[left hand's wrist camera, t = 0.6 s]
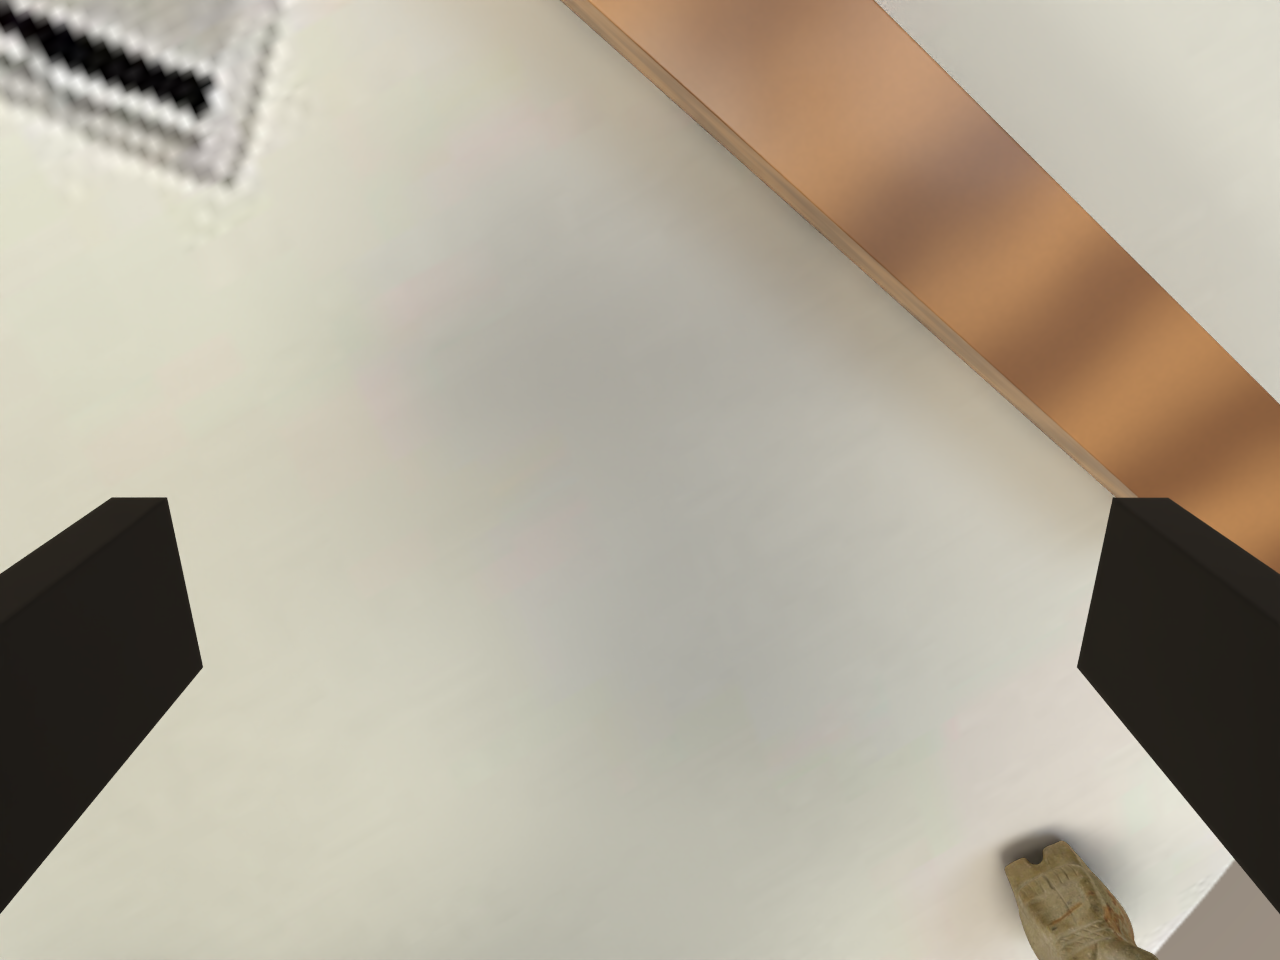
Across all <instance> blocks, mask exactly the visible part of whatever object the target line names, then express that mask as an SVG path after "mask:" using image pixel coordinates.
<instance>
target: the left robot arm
mask: <svg viewBox="0 0 1280 960" xmlns="http://www.w3.org/2000/svg"><path fill="white" fill-rule="evenodd" d="M202 668H203V665H202V660H201V656H200V651H199V646H198V641H197V637H196V632H195V627H194V623H193V618H192V613H191V608H190V604H189V599H188V594H187V590H186V585H185V580H184V575H183V571H182V566H181V561H180V556H179V552H178V547H177V542H176V538H175V533H174V528H173V523H172V519H171V514H170V509H169V505H168V500H167V498H110V499H109V500H108V501H106V502H105V503H103V504H102V505H100V506H99V507H97V508H96V509H94V510H93V511H91V512H90V513H89V514H87V515H86V516H84V517H83V518H81V519H80V520H78V521H77V522H75V523H74V524H73V525H71V526H70V527H68V528H67V529H65V530H64V531H62V532H61V533H59V534H58V535H56V536H55V537H54V538H52V539H51V540H49V541H48V542H46V543H45V544H43V545H42V546H40V547H39V548H37V549H36V550H35V551H33V552H32V553H30V554H29V555H27V556H26V557H24V558H23V559H21V560H20V561H19V562H17V563H16V564H14V565H13V566H11V567H10V568H8V569H7V570H5V571H4V572H2V573H1V574H0V913H1V912H2V911H3V910H4V909H5V907H6V906H7V905H8V904H9V903H10V901H11V900H12V899H13V898H14V896H15V895H16V894H17V893H18V892H19V890H20V889H21V888H22V887H23V886H24V884H25V883H26V882H27V881H28V879H29V878H30V877H31V876H32V875H33V873H34V872H35V871H36V870H37V868H38V867H39V866H40V865H41V864H42V862H43V861H44V860H45V859H46V858H47V856H48V855H49V854H50V853H51V851H52V850H53V849H54V848H55V847H56V845H57V844H58V843H59V842H60V841H61V839H62V838H63V837H64V836H65V834H66V833H67V832H68V831H69V830H70V828H71V827H72V826H73V825H74V823H75V822H76V821H77V820H78V819H79V817H80V816H81V815H82V814H83V813H84V811H85V810H86V809H87V808H88V806H89V805H90V804H91V803H92V802H93V800H94V799H95V798H96V797H97V796H98V794H99V793H100V792H101V791H102V789H103V788H104V787H105V786H106V785H107V783H108V782H109V781H110V780H111V778H112V777H113V776H114V775H115V774H116V772H117V771H118V770H119V769H120V768H121V766H122V765H123V764H124V763H125V761H126V760H127V759H128V758H129V757H130V755H131V754H132V753H133V752H134V750H135V749H136V748H137V747H138V746H139V744H140V743H141V742H142V741H143V740H144V738H145V737H146V736H147V735H148V733H149V732H150V731H151V730H152V729H153V727H154V726H155V725H156V724H157V723H158V721H159V720H160V719H161V718H162V716H163V715H164V714H165V713H166V712H167V710H168V709H169V708H170V707H171V705H172V704H173V703H174V702H175V701H176V699H177V698H178V697H179V696H180V695H181V693H182V692H183V691H184V690H185V688H186V687H187V686H188V685H189V684H190V682H191V681H192V680H193V679H194V678H195V676H196V675H197V674H198V673H199V671H200V670H201V669H202ZM1077 668H1078V669H1079V670H1080V671H1081V673H1082V674H1083V675H1084V676H1085V678H1086V679H1087V680H1088V681H1089V682H1090V684H1091V685H1092V686H1093V687H1094V688H1095V690H1096V691H1097V692H1098V693H1099V695H1100V696H1101V697H1102V698H1103V699H1104V701H1105V702H1106V703H1107V704H1108V705H1109V707H1110V708H1111V709H1112V710H1113V712H1114V713H1115V714H1116V715H1117V716H1118V718H1119V719H1120V720H1121V721H1122V723H1123V724H1124V725H1125V726H1126V727H1127V729H1128V730H1129V731H1130V732H1131V733H1132V735H1133V736H1134V737H1135V738H1136V740H1137V741H1138V742H1139V743H1140V744H1141V746H1142V747H1143V748H1144V749H1145V750H1146V752H1147V753H1148V754H1149V755H1150V757H1151V758H1152V759H1153V760H1154V761H1155V763H1156V764H1157V765H1158V766H1159V768H1160V769H1161V770H1162V771H1163V772H1164V774H1165V775H1166V776H1167V777H1168V778H1169V780H1170V781H1171V782H1172V783H1173V785H1174V786H1175V787H1176V788H1177V789H1178V791H1179V792H1180V793H1181V794H1182V796H1183V797H1184V798H1185V799H1186V800H1187V802H1188V803H1189V804H1190V805H1191V806H1192V808H1193V809H1194V810H1195V811H1196V813H1197V814H1198V815H1199V816H1200V817H1201V819H1202V820H1203V821H1204V822H1205V823H1206V825H1207V826H1208V827H1209V828H1210V830H1211V831H1212V832H1213V833H1214V834H1215V836H1216V837H1217V838H1218V839H1219V841H1220V842H1221V843H1222V844H1223V845H1224V847H1225V848H1226V849H1227V850H1228V851H1229V853H1230V854H1231V855H1232V856H1233V858H1234V859H1235V860H1236V861H1237V862H1238V864H1239V865H1240V866H1241V867H1242V868H1243V870H1244V871H1245V872H1246V873H1247V875H1248V876H1249V877H1250V878H1251V879H1252V881H1253V882H1254V883H1255V884H1256V886H1257V887H1258V888H1259V889H1260V890H1261V891H1262V893H1263V894H1264V895H1265V896H1266V898H1267V899H1268V900H1269V901H1270V903H1271V904H1272V905H1273V906H1274V907H1275V909H1276V910H1277V911H1278V912H1279V914H1280V574H1279V573H1278V572H1276V571H1275V570H1273V569H1272V568H1270V567H1269V566H1267V565H1266V564H1264V563H1263V562H1261V561H1260V560H1259V559H1257V558H1256V557H1254V556H1253V555H1251V554H1250V553H1248V552H1247V551H1245V550H1244V549H1243V548H1241V547H1240V546H1238V545H1237V544H1235V543H1234V542H1232V541H1231V540H1229V539H1228V538H1226V537H1225V536H1224V535H1222V534H1221V533H1219V532H1218V531H1216V530H1215V529H1213V528H1212V527H1210V526H1209V525H1207V524H1206V523H1205V522H1203V521H1202V520H1200V519H1199V518H1197V517H1196V516H1194V515H1193V514H1191V513H1190V512H1189V511H1187V510H1186V509H1184V508H1183V507H1181V506H1180V505H1178V504H1177V503H1175V502H1174V501H1172V500H1171V499H1170V498H1113V500H1112V505H1111V509H1110V514H1109V519H1108V523H1107V528H1106V533H1105V538H1104V542H1103V547H1102V552H1101V556H1100V561H1099V566H1098V571H1097V575H1096V580H1095V585H1094V590H1093V594H1092V599H1091V604H1090V608H1089V613H1088V618H1087V623H1086V627H1085V632H1084V637H1083V641H1082V646H1081V651H1080V656H1079V660H1078V665H1077Z"/></svg>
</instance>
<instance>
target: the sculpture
mask: <svg viewBox="0 0 1280 960" xmlns="http://www.w3.org/2000/svg"><path fill="white" fill-rule="evenodd" d="M1042 852H1043V860H1042V862H1041V863H1039V864H1031V863H1030V862H1029V861H1028V860H1027V859H1026V858H1020V859H1018V860H1016V861H1014V862H1012V863H1010V864H1009V865H1007V866H1006V867H1005V872H1006V875H1007V877H1008V880H1009V882H1010V885H1011V887H1012V890H1013V892H1014V895H1015V898H1016V902H1017V905H1018V908H1019V914H1020V918H1021V921H1022V925H1023V928H1024V931H1025V933H1026V936H1027V938H1028V941H1029V943H1030V945H1031V947H1032V949H1033V951H1034V953H1035V954H1036V956H1037V958H1038V959H1039V960H1158V958H1157V957H1156V956H1155V955H1153V954H1152V953H1150V952H1148V951H1145V950H1143V949H1141V948H1139V947H1137V946H1136V944H1135V941H1134V933H1133V928H1132V925H1131V922H1130V920H1129V918H1128V916H1127V914H1126V912H1125V910H1124V909H1123V907H1122V906H1121V905H1120V903H1119V902H1118V901H1117V899H1116V898H1115V897H1114V896H1113V894H1112V893H1111V892H1110V891H1109V890H1108V889H1107V887H1106V886H1105V885H1104V884H1103V883H1102V882H1101V881H1100V880H1099V878H1098V877H1096V876H1095V875H1094V874H1093V873H1092V872H1091V870H1090V869H1089V868H1088V867H1087V865H1086V864H1085V863H1084V862H1083V861H1082V859H1081V858H1080V857H1079V856H1078V855H1077V854H1076V853H1075V851H1074V850H1073V849H1072V848H1071V847H1070V846H1069V845H1068V844H1067V843H1066V842H1064V841H1059V842H1057V843H1055V844H1052V845H1049V846H1047V847H1045V848H1044V849H1043V851H1042Z"/></svg>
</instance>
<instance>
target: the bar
mask: <svg viewBox="0 0 1280 960" xmlns="http://www.w3.org/2000/svg"><path fill="white" fill-rule="evenodd" d="M561 1H562V2H563V3H564V4H565V5H566V6H567V7H569V8H570V9H571V10H572V11H573V12H574V13H575V14H576V15H577V16H579V17H580V18H581V19H582V20H583V21H584V22H585V23H586V24H588V25H589V26H590V27H591V28H592V29H593V30H594V31H595V32H596V33H598V34H599V35H600V36H601V37H602V38H603V39H604V40H605V41H607V42H608V43H609V44H610V45H611V46H612V47H613V48H614V49H615V50H617V51H618V52H619V53H620V54H621V55H622V56H623V57H624V58H626V59H627V60H628V61H629V62H630V63H631V64H632V65H633V66H634V67H636V68H637V69H638V70H639V71H640V72H641V73H642V74H643V75H645V76H646V77H647V78H648V79H649V80H650V81H651V82H652V83H653V84H655V85H656V86H657V87H658V88H659V89H660V90H661V91H662V92H664V93H665V94H666V95H667V96H668V97H669V98H670V99H671V100H672V101H674V102H675V103H676V104H677V105H678V106H679V107H680V108H681V109H683V110H684V111H685V112H686V113H687V114H688V115H689V116H690V117H691V118H693V119H694V120H695V121H696V122H697V123H698V124H699V125H700V126H702V127H703V128H704V129H705V130H706V131H707V132H708V133H709V134H710V135H712V136H713V137H714V138H715V139H716V140H717V141H718V142H719V143H721V144H722V145H723V146H724V147H725V148H726V149H727V150H728V151H730V152H731V153H732V154H733V155H734V156H735V157H736V158H737V159H738V160H740V161H741V162H742V163H743V164H744V165H745V166H746V167H747V168H749V169H750V170H751V171H752V172H753V173H754V174H755V175H756V176H757V177H759V178H760V179H761V180H762V181H763V182H764V183H765V184H766V185H768V186H769V187H770V188H771V189H772V190H773V191H774V192H775V193H776V194H778V195H779V196H780V197H781V198H782V199H783V200H784V201H785V202H787V203H788V204H789V205H790V206H791V207H792V208H793V209H794V210H795V211H797V212H798V213H799V214H800V215H801V216H802V217H803V218H804V219H806V220H807V221H808V222H809V223H810V224H811V225H812V226H813V227H814V228H816V229H817V230H818V231H819V232H820V233H821V234H822V235H823V236H825V237H826V238H827V239H828V240H829V241H830V242H831V243H832V244H833V245H835V246H836V247H837V248H838V249H839V250H840V251H841V252H842V253H844V254H845V255H846V256H847V257H848V258H849V259H850V260H851V261H852V262H854V263H855V264H856V265H857V266H858V267H859V268H860V269H861V270H863V271H864V272H865V273H866V274H867V275H868V276H869V277H870V278H871V279H873V280H874V281H875V282H876V283H877V284H878V285H879V286H880V287H882V288H883V289H884V290H885V291H886V292H887V293H888V294H889V295H890V296H892V297H893V298H894V299H895V300H896V301H897V302H898V303H899V304H901V305H902V306H903V307H904V308H905V309H906V310H907V311H908V312H909V313H911V314H912V315H913V316H914V317H915V318H916V319H917V320H918V321H920V322H921V323H922V324H923V325H924V326H925V327H926V328H927V329H928V330H930V331H931V332H932V333H933V334H934V335H935V336H936V337H937V338H939V339H940V340H941V341H942V342H943V343H944V344H945V345H946V346H947V347H949V348H950V349H951V350H952V351H953V352H954V353H955V354H956V355H958V356H959V357H960V358H961V359H962V360H963V361H964V362H965V363H967V364H968V365H969V366H970V367H971V368H972V369H973V370H974V371H975V372H977V373H978V374H979V375H980V376H981V377H982V378H983V379H984V380H986V381H987V382H988V383H989V384H990V385H991V386H992V387H993V388H994V389H996V390H997V391H998V392H999V393H1000V394H1001V395H1002V396H1003V397H1005V398H1006V399H1007V400H1008V401H1009V402H1010V403H1011V404H1012V405H1013V406H1015V407H1016V408H1017V409H1018V410H1019V411H1020V412H1021V413H1022V414H1024V415H1025V416H1026V417H1027V418H1028V419H1029V420H1030V421H1031V422H1032V423H1034V424H1035V425H1036V426H1037V427H1038V428H1039V429H1040V430H1041V431H1043V432H1044V433H1045V434H1046V435H1047V436H1048V437H1049V438H1050V439H1051V440H1053V441H1054V442H1055V443H1056V444H1057V445H1058V446H1059V447H1060V448H1062V449H1063V450H1064V451H1065V452H1066V453H1067V454H1068V455H1069V456H1070V457H1072V458H1073V459H1074V460H1075V461H1076V462H1077V463H1078V464H1079V465H1081V466H1082V467H1083V468H1084V469H1085V470H1086V471H1087V472H1088V473H1089V474H1091V475H1092V476H1093V477H1094V478H1095V479H1096V480H1097V481H1098V482H1100V483H1101V484H1102V485H1103V486H1104V487H1105V488H1106V489H1107V490H1108V491H1110V492H1111V493H1112V494H1113V495H1114V496H1115V497H1116V498H1170V499H1171V500H1172V501H1174V502H1175V503H1177V504H1178V505H1180V506H1181V507H1183V508H1184V509H1186V510H1187V511H1189V512H1190V513H1191V514H1193V515H1194V516H1196V517H1197V518H1199V519H1200V520H1202V521H1203V522H1205V523H1206V524H1207V525H1209V526H1210V527H1212V528H1213V529H1215V530H1216V531H1218V532H1219V533H1221V534H1222V535H1224V536H1225V537H1226V538H1228V539H1229V540H1231V541H1232V542H1234V543H1235V544H1237V545H1238V546H1240V547H1241V548H1243V549H1244V550H1245V551H1247V552H1248V553H1250V554H1251V555H1253V556H1254V557H1256V558H1257V559H1259V560H1260V561H1261V562H1263V563H1264V564H1266V565H1267V566H1269V567H1270V568H1272V569H1273V570H1275V571H1276V572H1278V573H1279V574H1280V404H1279V403H1278V402H1277V401H1276V400H1275V399H1274V398H1273V397H1272V396H1271V395H1270V394H1269V393H1268V392H1267V391H1266V390H1265V389H1264V388H1263V387H1262V386H1261V385H1260V384H1259V383H1258V382H1257V381H1256V380H1255V379H1254V378H1253V377H1252V376H1251V375H1250V374H1249V373H1248V372H1247V371H1246V370H1245V369H1244V368H1243V367H1242V366H1241V365H1240V364H1239V363H1238V362H1237V361H1236V360H1235V359H1234V358H1233V357H1232V356H1231V355H1230V354H1229V353H1228V352H1227V351H1226V350H1225V349H1224V348H1223V347H1222V346H1221V345H1220V344H1219V343H1218V342H1217V341H1216V340H1215V339H1214V338H1213V337H1212V336H1211V335H1210V334H1209V333H1208V332H1207V331H1206V330H1205V329H1204V328H1203V327H1202V326H1201V325H1200V324H1198V323H1197V322H1196V321H1195V320H1194V319H1193V318H1192V317H1191V316H1190V315H1189V314H1188V313H1187V312H1186V311H1185V310H1184V309H1183V308H1182V307H1181V306H1180V305H1179V304H1178V303H1177V302H1176V301H1175V300H1174V299H1173V298H1172V297H1171V296H1170V295H1169V294H1168V293H1167V292H1166V291H1165V290H1164V289H1163V288H1162V287H1161V286H1160V285H1159V284H1158V283H1157V282H1156V281H1155V280H1154V279H1153V278H1152V277H1151V276H1150V275H1149V274H1148V273H1147V272H1146V271H1145V270H1144V269H1143V268H1142V267H1141V266H1140V265H1139V264H1138V263H1137V262H1136V261H1135V260H1134V259H1133V258H1132V257H1131V256H1130V255H1129V254H1128V253H1127V252H1126V251H1125V250H1124V249H1123V248H1122V247H1121V246H1120V245H1119V244H1118V243H1117V242H1116V241H1115V240H1114V239H1113V238H1112V237H1111V236H1110V235H1109V234H1108V233H1107V232H1106V231H1105V230H1104V229H1103V228H1102V227H1101V226H1100V225H1099V224H1098V223H1097V222H1096V221H1095V220H1094V219H1093V218H1092V217H1091V216H1090V215H1089V214H1088V213H1087V212H1086V211H1085V210H1084V209H1083V208H1082V207H1081V206H1080V205H1079V204H1078V203H1077V202H1076V201H1075V200H1074V199H1073V198H1072V197H1071V196H1070V195H1069V194H1068V193H1067V192H1066V191H1065V190H1064V189H1063V188H1062V187H1061V186H1060V185H1059V184H1058V183H1057V182H1056V181H1055V180H1054V179H1053V178H1052V177H1051V176H1050V175H1049V174H1048V173H1047V172H1046V171H1045V170H1044V169H1043V168H1042V167H1041V166H1040V165H1039V164H1038V163H1037V162H1036V161H1035V160H1034V159H1033V158H1032V157H1031V156H1030V155H1029V154H1028V153H1027V152H1026V151H1025V150H1024V149H1023V148H1022V147H1021V146H1020V145H1019V144H1018V143H1017V142H1016V141H1015V140H1014V139H1013V138H1012V137H1011V136H1010V135H1009V134H1008V133H1007V132H1006V131H1005V130H1004V129H1003V128H1002V127H1001V126H1000V125H999V124H998V123H997V122H996V121H995V120H994V119H993V118H992V117H991V116H990V115H989V114H988V113H987V112H986V111H985V110H984V109H983V108H982V107H981V106H980V105H979V104H978V103H977V102H976V101H975V100H974V99H973V98H972V97H971V96H970V95H969V94H968V93H967V92H966V91H965V90H964V89H963V88H962V87H961V86H960V85H959V84H958V83H957V82H956V81H955V80H954V79H953V78H952V77H951V76H950V75H949V74H948V73H947V72H946V71H945V70H944V69H943V68H942V67H941V66H940V65H939V64H938V63H937V62H936V61H935V60H934V59H933V58H932V57H931V56H930V55H929V54H928V53H927V52H926V51H925V50H924V49H923V48H921V47H920V46H919V45H918V44H917V43H916V42H915V41H914V40H913V39H912V38H911V37H910V36H909V35H908V34H907V33H906V32H905V31H904V30H903V29H902V28H901V27H900V26H899V25H898V24H897V23H896V22H895V21H894V20H893V19H892V18H891V17H890V16H889V15H888V14H887V13H886V12H885V11H884V10H883V9H882V8H881V7H880V6H879V5H878V4H877V3H876V2H875V1H874V0H561Z"/></svg>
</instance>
